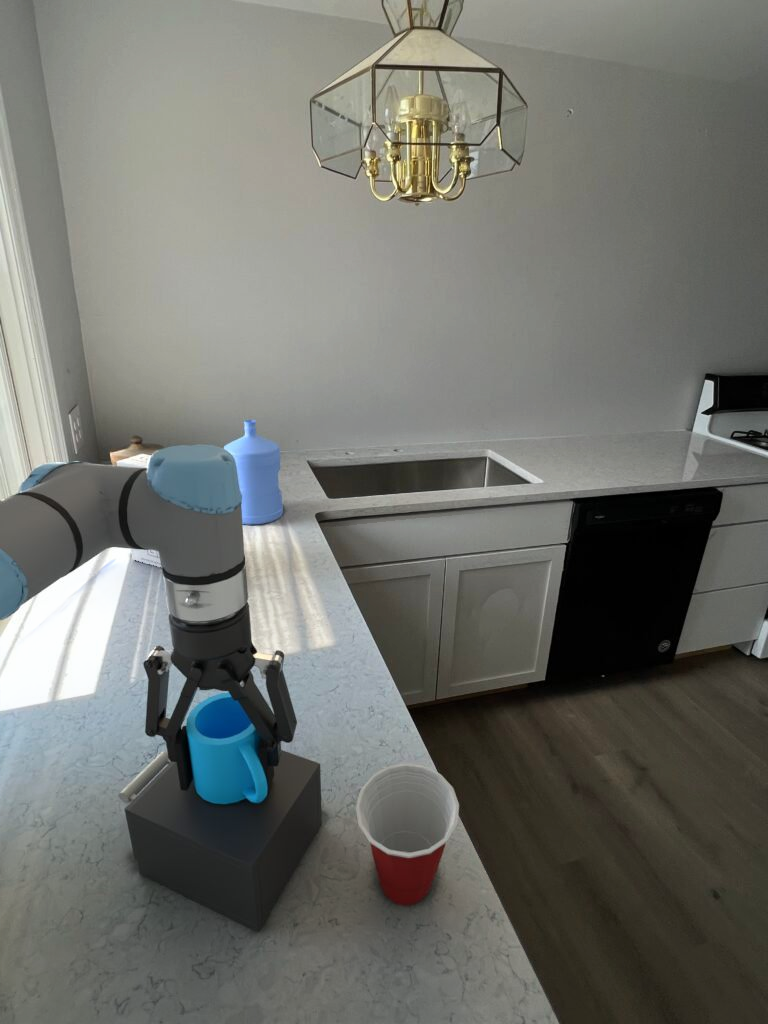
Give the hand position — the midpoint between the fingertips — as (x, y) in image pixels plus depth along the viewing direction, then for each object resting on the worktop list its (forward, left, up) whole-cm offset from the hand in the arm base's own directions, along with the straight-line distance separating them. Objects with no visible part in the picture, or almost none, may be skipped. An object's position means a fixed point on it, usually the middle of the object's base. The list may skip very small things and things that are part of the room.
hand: (228, 782), depth 62 cm
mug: (+1, 0, 0) cm, 1 cm away
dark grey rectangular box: (0, 0, -10) cm, 10 cm away
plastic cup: (+20, -3, -11) cm, 23 cm away
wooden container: (-58, +107, -10) cm, 122 cm away
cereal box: (-35, +72, -10) cm, 81 cm away
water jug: (-24, +104, -10) cm, 107 cm away
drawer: (-4, +1, -9) cm, 10 cm away
